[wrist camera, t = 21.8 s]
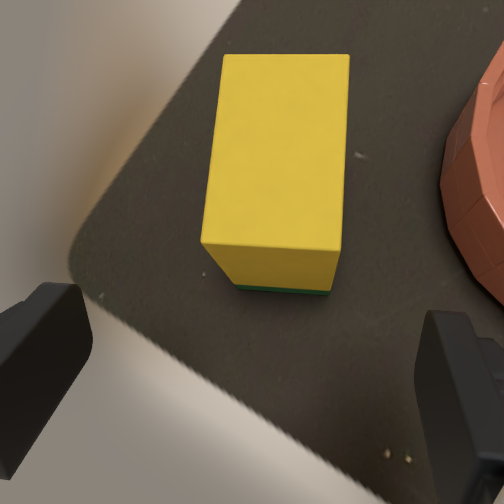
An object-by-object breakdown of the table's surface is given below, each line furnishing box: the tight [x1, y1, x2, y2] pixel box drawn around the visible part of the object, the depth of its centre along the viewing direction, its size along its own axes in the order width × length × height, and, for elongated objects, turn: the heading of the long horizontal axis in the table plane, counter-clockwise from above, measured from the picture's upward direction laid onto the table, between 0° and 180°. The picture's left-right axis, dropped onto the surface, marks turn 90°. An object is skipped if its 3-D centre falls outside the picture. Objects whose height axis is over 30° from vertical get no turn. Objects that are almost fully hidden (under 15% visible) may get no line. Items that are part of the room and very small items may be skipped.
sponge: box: [201, 54, 350, 295], centre depth 19 cm, size 4×7×8 cm, turn 175°
